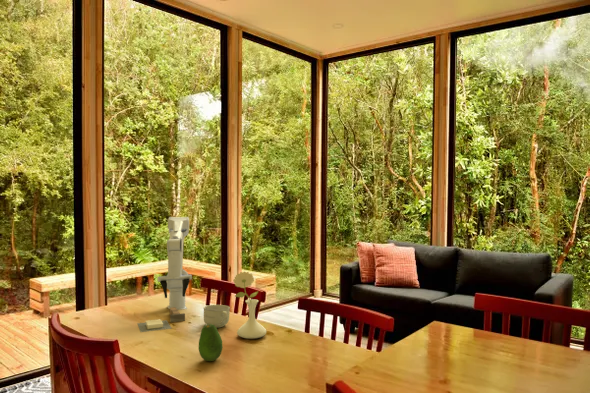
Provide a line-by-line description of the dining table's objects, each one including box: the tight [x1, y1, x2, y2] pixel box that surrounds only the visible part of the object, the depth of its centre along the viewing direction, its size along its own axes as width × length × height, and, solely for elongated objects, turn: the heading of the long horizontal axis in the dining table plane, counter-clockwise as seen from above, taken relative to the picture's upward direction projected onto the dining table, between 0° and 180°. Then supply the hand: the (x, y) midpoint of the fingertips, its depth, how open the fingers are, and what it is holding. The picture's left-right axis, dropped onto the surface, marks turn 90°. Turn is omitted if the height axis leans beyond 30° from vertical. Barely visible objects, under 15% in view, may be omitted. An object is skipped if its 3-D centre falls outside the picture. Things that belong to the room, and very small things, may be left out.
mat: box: [136, 319, 173, 333], centre depth 188 cm, size 13×12×1 cm
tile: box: [145, 318, 163, 329], centre depth 188 cm, size 2×6×7 cm
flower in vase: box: [233, 271, 267, 340], centre depth 177 cm, size 13×11×25 cm
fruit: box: [198, 324, 223, 362], centre depth 151 cm, size 8×8×12 cm
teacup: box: [203, 304, 231, 329], centre depth 189 cm, size 14×11×8 cm
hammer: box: [169, 307, 186, 323], centre depth 201 cm, size 13×6×4 cm, turn 24°
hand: (174, 296), depth 201 cm, fingers open, 7 cm apart
